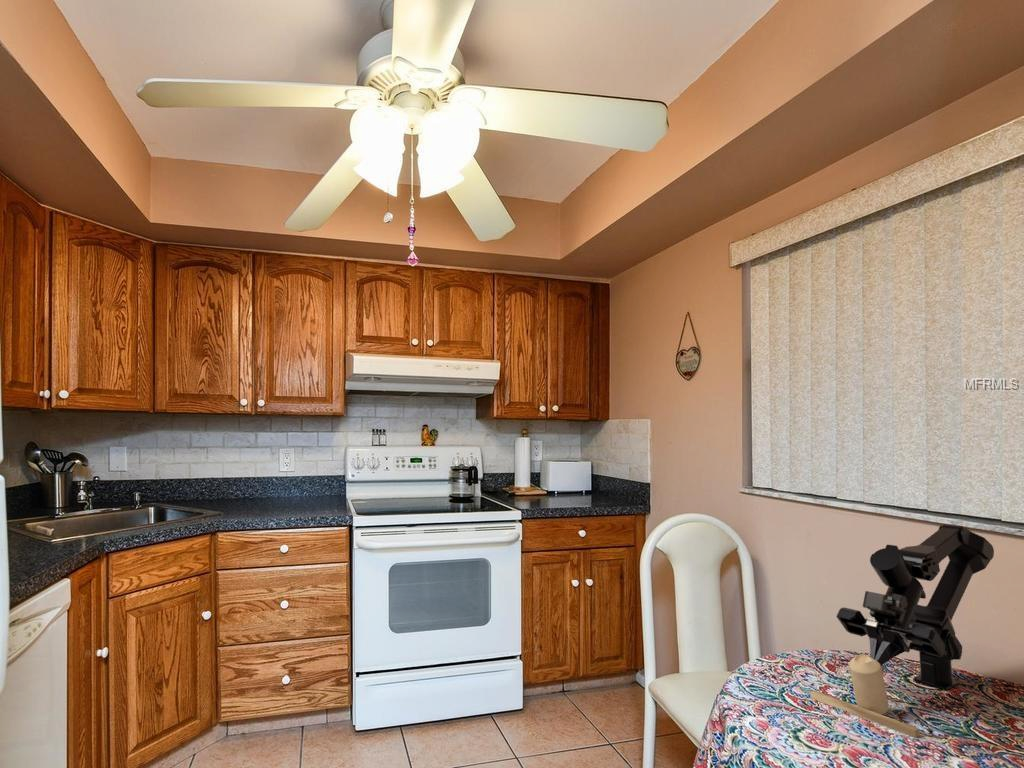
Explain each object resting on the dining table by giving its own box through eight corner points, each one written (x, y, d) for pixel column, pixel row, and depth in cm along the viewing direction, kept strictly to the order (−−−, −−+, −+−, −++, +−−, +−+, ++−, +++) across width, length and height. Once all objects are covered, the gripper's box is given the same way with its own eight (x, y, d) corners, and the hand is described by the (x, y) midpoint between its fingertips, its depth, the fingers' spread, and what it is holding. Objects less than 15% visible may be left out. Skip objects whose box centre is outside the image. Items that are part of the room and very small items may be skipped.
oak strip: (814, 696, 129) (814, 690, 129) (919, 735, 112) (919, 728, 112) (810, 698, 128) (810, 691, 128) (915, 737, 111) (915, 730, 111)
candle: (894, 713, 119) (884, 664, 118) (863, 717, 120) (852, 667, 119) (882, 696, 124) (872, 648, 124) (852, 699, 125) (843, 652, 125)
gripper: (839, 568, 135) (810, 629, 129) (934, 585, 120) (907, 656, 113) (861, 601, 139) (834, 661, 132) (956, 622, 123) (931, 692, 116)
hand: (873, 666), depth 123 cm, fingers closed
